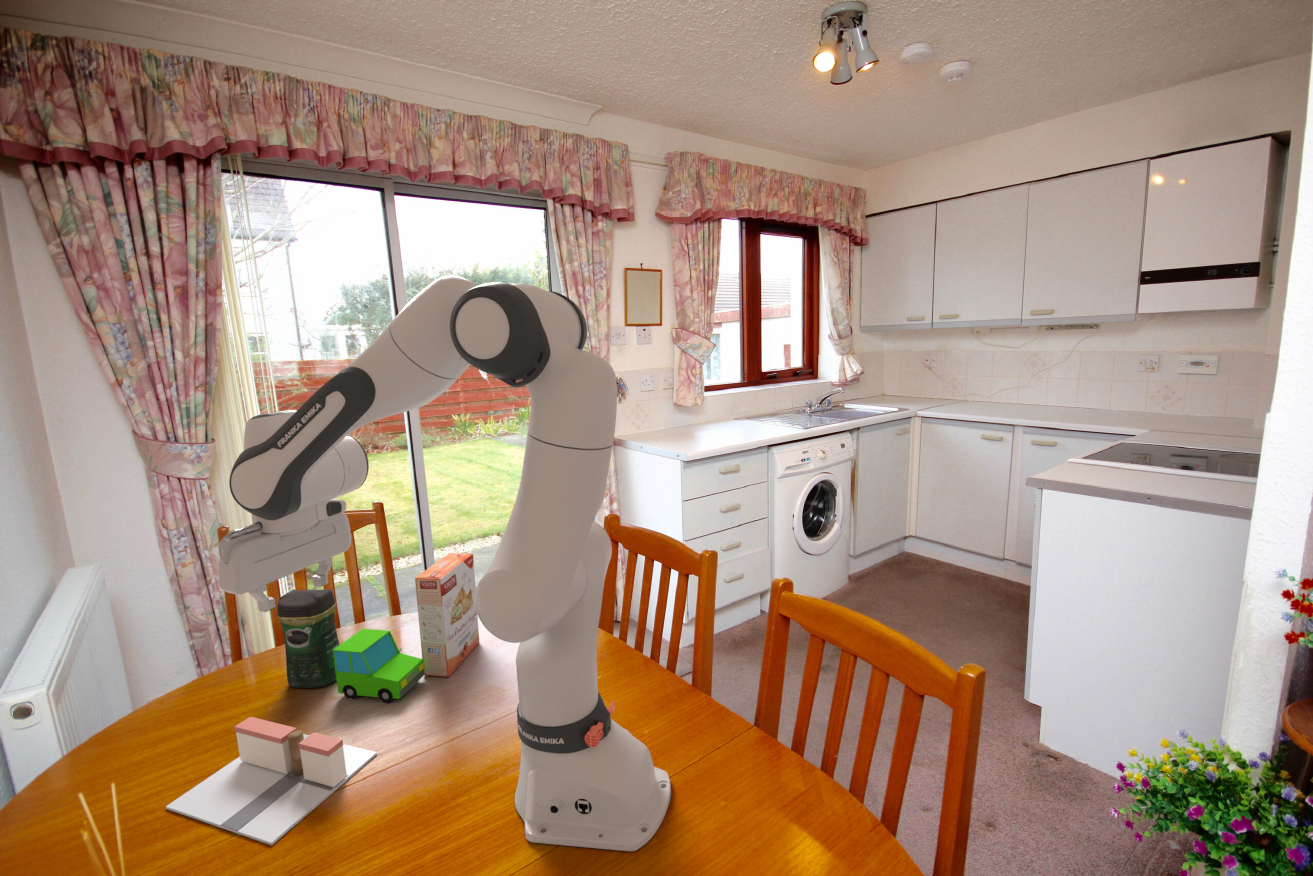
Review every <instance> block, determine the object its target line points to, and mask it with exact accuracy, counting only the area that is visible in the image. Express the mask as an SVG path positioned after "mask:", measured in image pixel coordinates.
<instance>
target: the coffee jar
mask: <svg viewBox="0 0 1313 876" xmlns="http://www.w3.org/2000/svg"><path fill="white" fill-rule="evenodd" d="M276 607H277V620H278V622H279V623H280V625H281V628H282V632H283V637H284V646H285V647H284V648H285V660H286V661H285V663H286V664H285V665H286V679H287V684H288V686H290V687H291V688H296V689H297V688H299V689H310V688H312V689H314V688H315V689H316V688H323V687H325V686H327V685H330V684H331V683H333V682H335V681H337V679H336V672H335V665H334V657H333V649H334V648H336V647H337V646H339V645H340V644H341V643H340V641H339V638H338V632H337V627H336V622H335V621H336V620H335V613H336V612H335V611H336V610H337V609H336V608H337V602H336V598H335V596H334V592H333V590H331V589H330V588H326V589H325V588H324V589H299V590H298V589H292V590H290V591H287V592H286V593H285V594H284V595H282V596H280V597H279V599H278V602H277V606H276Z"/></svg>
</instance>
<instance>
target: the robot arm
mask: <svg viewBox="0 0 1313 876" xmlns="http://www.w3.org/2000/svg"><path fill="white" fill-rule="evenodd" d="M587 337H588V325H587V321H586V317H585V315H584V313H583V311H582V310H581V309H580V306H578V305H577V303H575V302H574V301H573V300H572V299H570V298H569V297H568V296H565V295H564V294H562V293H560V292H556V291H551V290H545V289H543V288H540V286H539V287H538V286H536V285H531V284H526V283H507V282H503V281H494V282H493V281H492V282H487V283H483V284H480V285H478V284H476V283H475V282H473V281H472V280H469V279H467V278H464V277H462V276H458V275H444V276H441V277H439V278H437V279H435V280H434V281H433V282H431V283H430V284H429V285H427V286H426V287H425V288H423V289H422V290H421V291H420V292H419V293H417V295H416V296H414V297H413V298H412V299H411V300H410V301H408V302H407V303H406V305H405V306H404V307H403V308H402V309H401V310H400V311H399V312H398V313H397V315H396V316H395V317H394V318H393V319H392V321H391V322H390V323H389V324H388V325H387V327H386V328H384V330H383V331H382V332H381V333H380V335H379V336H378V337H377V338H375V339H374V341H373V342H371V344H369V346H368V347H367V348H366V349H364V350H363V351H362V353H360V354H359V355H358V356H356V358H355V359H354V360H353V361H351V362H349V364H348V365H347V366H345V367H344V368H343V369H341V370H340V371H339V372H337V373H336V374H335V375H334V376H333V377H331V378H330V379H329V380H327V382H325V383H324V384H323V385H322V386H320V387H319V388H318V390H316V391H315V392H314V393H313V394H312V395H310V397H309V398H308V399H307V400H306V401H305V402H303V404H302V405H301V406H300V407H299V408H298V409H287V410H280V411H275V412H268V413H260V414H258V415H254V416H252V417H251V418H249V419H248V420H246V423H245V427H244V433H243V434H244V435H243V436H244V437H243V450H242V451H241V453H240V454H239V455H238V456H237V459H236V460H235V462H234V463H233V466H232V468H231V471H230V475H229V481H228V484H229V490H230V495H231V496H232V498H233V500H234V501H235V502H236V503H237V505H239V507H241V508H242V509H243V510H245V511H246V512H248V513H250V514H251V521H252V523H251V524H248V525H246V526H243V527H241V528H236V529H231V530H229V531H227V533H226V534H225V536H223V537H222V539H221V540H220V541H219V543H218V556H219V560H218V561H219V562H218V578H219V579H218V581H219V582H218V583H219V588H220V589H221V590H223V591H224V592H225V593H229V594H231V595H232V594H233V595H238V596H239V595H245V594H246V593H248V594H249V595H251V597H252V598H253V599H254V600H255V601H256V603H257V608H258V611H259V612H261V613H267V612H269V611H271V610H274V609H275V608H276V607H277V606H276V604H275V603H276V598H275V597H272V596H268V595H266V594H265V592H266V591H267V590H268V589H267V588H268V587H267V585H269V584H271V583H273V582H276V581H278V580H281V579H282V578H285V577H287V576H291V574H295V573H297V572H300V571H302V570H304V569H307V568H309V567H311V566H314V565H317V564H318V566H317V570H316V574H313V575H312V576H311V578H312V585H313V586H314V587H315V588H321V587H324V586H326V585H327V584H329V578H328V577H329V576H328V574H329V573H330V570H331V567H332V566H333V563H334V562H333V557H336V556H338V555H340V554H342V553H345V552H347V551H349V549H350V547H351V545H352V532H351V525H350V521H349V517H348V516H347V514H346V513H345V512H346V510H347V501H346V500H344V499H340V498H338V497H341V496H344V495H348V494H350V493H353V492H354V491H356V490H358V489H360V488H361V487H362V486H363V485H364V483H365V482H366V480H367V478H368V475H369V474H368V473H369V469H370V467H369V465H370V464H369V458H368V455H367V451H366V450H365V448H364V446H363V445H362V443H361V442H359V440H357V439H356V438H355V437H353V436H352V435H351V434H352V433H353V432H355V431H356V430H358V429H360V428H362V427H364V426H367V425H368V424H369V425H370V424H371V423H374V422H377V421H379V420H382V419H385V418H388V417H389V418H390V417H392V416H395V415H399V414H402V413H406V412H410V411H413V410H416V409H420V408H423V407H424V406H426V405H428V404H430V403H432V402H433V401H435V400H436V399H437V398H439V397H440V396H442V394H444V393H445V392H446V391H448V390H449V389H450V388H451V387H452V386H453V385H454V384H455V383H456V382H457V381H458V379H459V378H460V377H461V376H462V375H463V374H464V373H466V371H467V370H468V368H469V367H470V366H473V367H474V368H475V369H477V370H480V371H481V372H484V373H486V374H488V375H491V376H493V377H495V378H497V379H498V380H500V381H501V382H503V383H505V384H507V385H509V386H510V387H512V388H521V387H525V386H526V388H527V390H528V392H529V395H530V411H529V412H530V413H529V414H530V415H529V419H528V420H529V421H528V427H527V433H526V435H527V436H526V441H525V442H526V443H525V450H524V456H523V462H522V470H521V476H520V481H519V487H518V492H517V495H516V498H515V501H514V504H513V507H512V509H511V510H512V511H511V512H510V515H509V518H508V521H507V523H506V525H505V526H506V527H505V530H504V531H503V534H502V537H501V540H500V542H499V545H498V547H497V549H496V552H495V554H494V557H493V558H492V560H491V562H490V564H489V566H488V568H487V569H486V571H485V572H484V574H483V576H482V577H481V578H480V579H479V582H478V583H477V586H476V587H475V588H476V591H475V608H476V611H477V616H478V620H480V622H481V624H482V625H483V627H484V628H485V629H486V630H487V631H488V632H489V633H490V634H491V635H492V636H494V637H495V638H497V639H499V640H501V641H503V642H507V643H513V644H517V643H518V644H519V645H518V647H517V652H516V657H515V666H516V676H517V677H516V680H517V681H516V682H517V690H518V691H517V692H518V704H517V707H516V718H517V719H516V720H517V721H516V722H517V734H518V737H519V740H520V767H519V774H518V775H519V776H518V781H517V785H516V786H517V787H516V790H515V793H514V794H515V795H514V806H515V809H516V811H517V812H518V814H519V817H521V819H522V821H523V822H524V836H525V838H526V840H527V841H528V842H530V843H535V844H536V843H537V844H547V845H559V846H569V847H579V848H588V849H589V848H592V849H599V850H600V849H602V850H613V851H624V852H636V851H638V850H639V849H641V848H642V847H643V846H645V845H646V844H647V843H648V842H649V841H650V840H651V839H652V838H653V837H654V835H655V834H656V833H657V831H658V829H659V828H660V826H661V825H662V822H663V820H664V819H665V816H666V814H667V811H668V808H669V805H670V802H671V795H672V787H671V779H670V777H669V773H668V772H667V771H666V770H664V769H662V768H659V767H656V766H654V761H653V758H652V755H651V753H650V750H649V748H648V747H647V746H646V745H645V744H644V743H643V742H642V741H640V739H638V738H636V737H635V736H634V735H632V733H631V732H630V731H629V730H628V729H626V728H623V727H622V726H621V725H620V724H619V723H617V722H616V721H615V720H614V719H612V718H611V717H612V715H613V713H614V712H615V709H616V706H615V703H616V701H615V700H613V701H612V702H611V703H610V705H609V706H608V707H607V706H606V704H605V701H604V699H603V697H602V695H601V694H600V692H599V688H598V684H599V683H598V668H597V667H598V666H597V665H598V664H597V644H598V643H597V640H598V631H599V624H600V619H601V610H602V604H603V594H604V589H605V588H604V586H605V579H606V576H607V571H608V567H609V564H610V562H611V559H612V553H613V547H612V541H611V538H610V536H609V533H607V531H606V529H604V527H603V525H601V524H600V523H598V522H597V521H596V520H595V519H596V516H597V514H598V512H599V511H600V509H601V507H602V505H603V502H604V499H605V494H606V488H607V484H608V483H607V482H608V476H609V472H610V471H609V470H610V464H611V458H612V451H613V446H614V440H615V432H616V422H617V421H616V420H617V407H618V406H617V405H618V402H617V401H618V396H617V395H618V390H617V384H618V383H617V376H616V373H615V370H614V368H613V367H612V365H611V364H609V362H608V361H607V360H605V359H604V358H602V357H600V356H599V355H597V354H594V353H592V352H590V351H585V350H584V347H585V345H586V342H587Z"/></svg>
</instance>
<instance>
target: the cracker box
mask: <svg viewBox="0 0 1313 876" xmlns="http://www.w3.org/2000/svg"><path fill="white" fill-rule="evenodd" d="M474 563H475V561H474V554H473V553H467V552H466V553H464V552H462V553H457V552H456V553H455V552H449V553H448V554H447V555H446V554H445V556H444V557H442V558H441V559H439V560H438V561H437V562H435V563H434V564H432V565H431V566H430V567H428V568H427V569H426V570H425V569H424V571H423V572H421V573H419V574H418V575H417V576H415V578H414V582H415V584H414V585H415V592H416V603H417V606H416V607H417V615H418V624H419V626H418V627H419V635H420V637H419V639H420V647H421V659H423V664H424V676H431V677H444V678H450V676H451V675H452V674H453V673H454V672H455V671H456V669H458V667H459V666H460V665H461V664H462V663H463V661H464V660H466V658H467V657H468V656H469V655H470V654H471V653H472V651H473V650H474V649H475V648H476V647H477V646H478V645H479V643H480V633H479V617H478V614H477V611H476V608H475V591H476V588H477V587H476V577H475V564H474Z"/></svg>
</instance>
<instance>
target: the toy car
mask: <svg viewBox="0 0 1313 876" xmlns="http://www.w3.org/2000/svg"><path fill="white" fill-rule="evenodd" d="M339 644H340V645H339V646H337V647H336V648H334V649H333V657H334V665H335V672H336V684H337V685H336V686H337V693H338V694H343V695H344V696H345V698H347V699H348V700H355V699H356V698H357V697H359V696H360V697H361V696H363V697H372V698H378V699H379V700H380V701H381V702H382V703H385V704H389V703H390V704H391V702H392V701H394V700H395V699H401V698H402V697H403V696H404V695H406V693H407V692H408V691H410V689H411V688H413V687H414V686H415V685H416V684H417V683H418V682H419V681H420V680H421V679H422V678H423V677H424V676H425V675H424V664H423V659H422V658H420V657H416V656H412V655H408V654H406V653H405V654H404V653H401V651H402V649H403V648H402V647H401V648H400V649H399V648H398V646H397V643H396V641H395V639H394V637H393V635H392V632H391V631H390V630H383V629H372V628H362V629H360V630H359V631H357V632H356V633H354V634H353V635H352V636H350V637H349V638H347V639H346V640H345V641H343V642H342V643H339Z"/></svg>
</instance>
